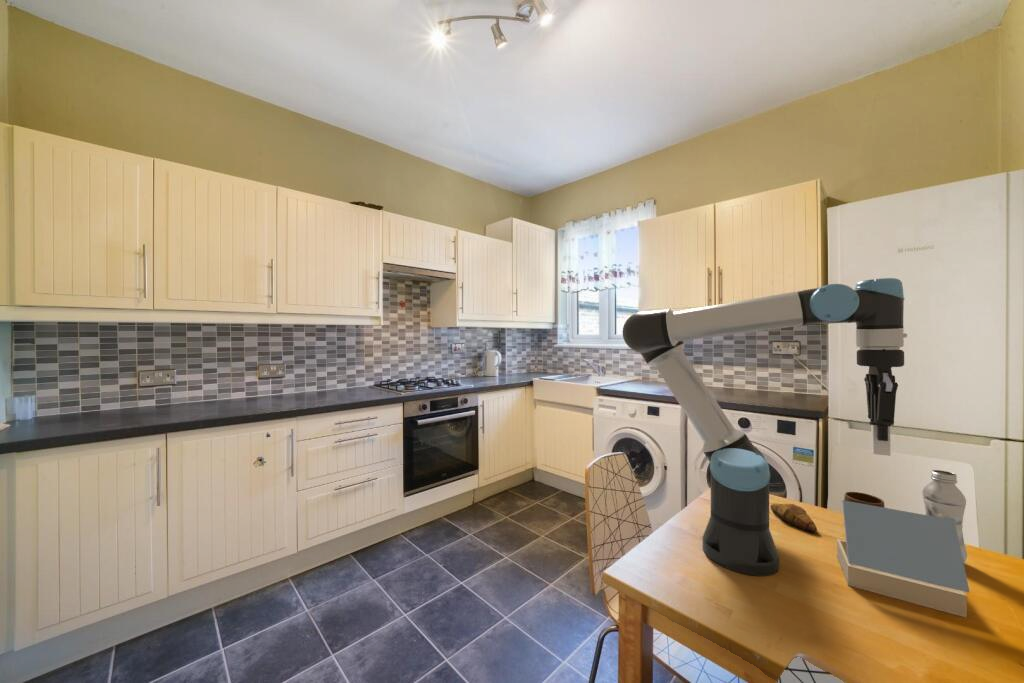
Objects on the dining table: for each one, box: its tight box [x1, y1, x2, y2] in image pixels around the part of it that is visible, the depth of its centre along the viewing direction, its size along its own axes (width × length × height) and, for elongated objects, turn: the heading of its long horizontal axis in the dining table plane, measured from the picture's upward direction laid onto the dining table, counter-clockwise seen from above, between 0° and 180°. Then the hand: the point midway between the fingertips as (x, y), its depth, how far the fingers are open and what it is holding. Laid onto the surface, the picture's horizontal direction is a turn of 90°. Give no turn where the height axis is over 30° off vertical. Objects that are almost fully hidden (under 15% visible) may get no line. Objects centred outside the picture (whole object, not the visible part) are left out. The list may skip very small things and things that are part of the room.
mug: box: [843, 491, 886, 527], centre depth 92 cm, size 12×8×9 cm, turn 2°
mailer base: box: [836, 538, 968, 619], centre depth 75 cm, size 16×12×4 cm
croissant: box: [770, 503, 818, 534], centre depth 101 cm, size 14×7×5 cm, turn 7°
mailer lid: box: [841, 499, 970, 593], centre depth 72 cm, size 16×12×1 cm
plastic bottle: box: [921, 469, 968, 564], centre depth 83 cm, size 6×7×20 cm
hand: (880, 453), depth 82 cm, fingers closed
